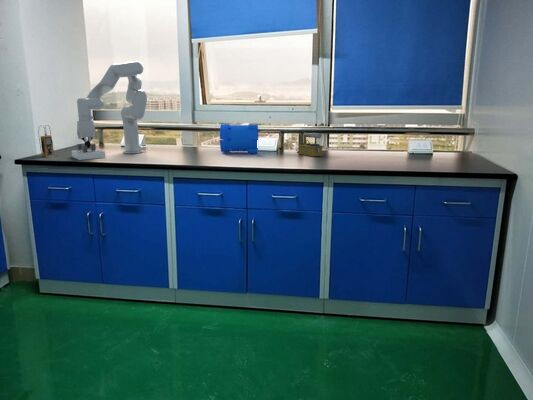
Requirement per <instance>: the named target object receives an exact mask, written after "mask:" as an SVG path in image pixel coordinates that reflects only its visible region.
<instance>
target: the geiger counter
mask: <svg viewBox="0 0 533 400" xmlns="http://www.w3.org/2000/svg"><path fill="white" fill-rule="evenodd" d="M301 135H303V138H302V139H303V141H302V142H300V140H301V139H300V138H301ZM298 138H299V139H298V144H297V146H298V148H296V149H295V151H296V153H297V154H299V155H304V156H308V157H312V158H313V157H321V156H323V148H325V146H324V145H320V143H311V142H310V141H309V139H310V138H311V139H313V138H314V139H321V138H322V134H321V133H318V132H311V133H309V132H303V133H300V134H299V137H298ZM307 138H309V139H308V140H307Z"/></svg>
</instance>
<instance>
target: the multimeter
mask: <svg viewBox="0 0 533 400" xmlns="http://www.w3.org/2000/svg"><path fill="white" fill-rule="evenodd" d="M40 127H41V125H39V127H38V128H40ZM48 127H49V129H51V127H50V126H48ZM43 129H44V131H46V130H47V128H46V126H44V127H43ZM49 133H50V135H48V134H47V132H44V135H41V136H39V138H38V141H39V142H38V143H40V145H39V147H40V148H39V149H40V150H41V151H40V152H41V153H40V154H41V157H42V158H45V159H46V158H47V157H48V158H49V157H50V158H53V157H58V155H57V154H55V151H54V144H53V143H54V142H53V137H52V135H51V134H52V133H51V131H49ZM38 134H40V129H38Z"/></svg>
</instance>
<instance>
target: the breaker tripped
mask: <svg viewBox="0 0 533 400" xmlns="http://www.w3.org/2000/svg"><path fill="white" fill-rule="evenodd" d="M89 149H91V150H96V149H97V147H96V144H95V143H90V148H89Z"/></svg>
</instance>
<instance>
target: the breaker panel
mask: <svg viewBox="0 0 533 400" xmlns="http://www.w3.org/2000/svg"><path fill="white" fill-rule="evenodd" d="M87 151H88V152H82V150H77V149H73V150H71V156H72V157H71V158H74V159H76V160H78V161H82V160H93V159H105V158H106V152H105V150H102V149H99V148H96V150H91V148H87Z"/></svg>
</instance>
